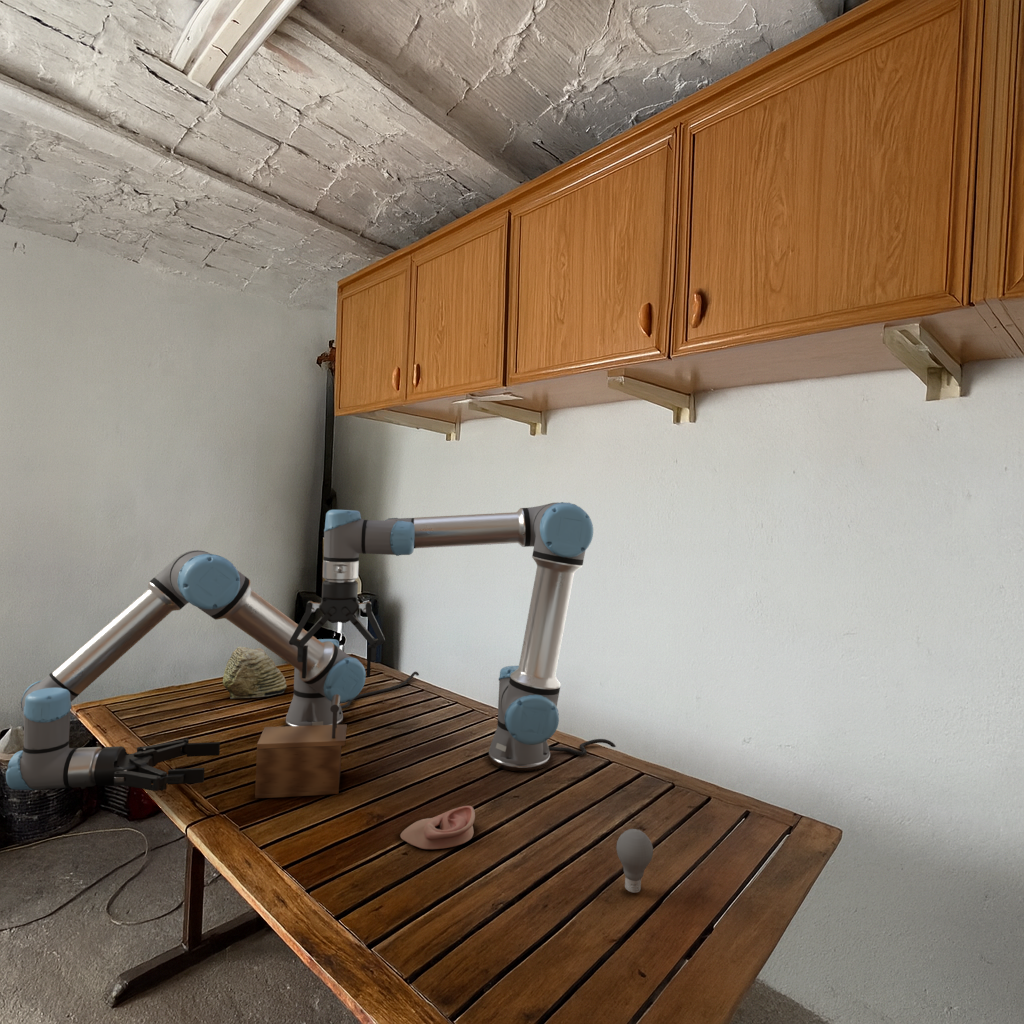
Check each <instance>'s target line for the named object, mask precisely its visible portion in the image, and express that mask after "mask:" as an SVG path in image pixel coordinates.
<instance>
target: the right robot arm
mask: <svg viewBox="0 0 1024 1024" xmlns="http://www.w3.org/2000/svg"><path fill="white" fill-rule="evenodd" d="M590 517H591V516H590V515H589V514H588V513H587V512H586V511H585V510H584V509H583V508H582V507H580V506H579V505H577V504H574V503H571V502H563V501H561V502H550V503H546V504H543V505H537V506H531V507H520V508H519V509H518V510H517V511H515V512H497V513H496V512H495V513H476V514H459V515H458V514H456V515H439V516H438V515H437V516H420V517H402V518H399V517H392V518H387V519H385V520H379V519H376V520H375V519H374V520H371V519H365V518H363V519H362V516H361V512H360V510H352V509H329V510H328V511H327V512H326V513H325V522H324V529H323V559H322V561H323V562H322V578H323V579H324V580H323V581H322V585H321V601H320V602H316V601H315V602H314V601H312V600H308V601H307V602H306V606H305V612H304V614H303V616H302V618H301V619H300V621H299V623H298V626H297V628H296V630H295V632H294V633H293V635H292V637H291V639H290V641H289V644H290V645H294V646H296V647H297V648H298V654H297V661H298V662H303V663H302V678H306V676H307V655H308V646H304V645H305V644H306V643H307V642H308V641H309V640H310V639H311V637H312V636H314V635H315V634H316V633H318V632H319V630H320V629H321V628H322V627H323V626H324V625H325V624H326V623H327V622H329V623H330V624H336V623H340V624H347V623H348V622H350V623H351V624H352V625H353V626H354V627H355V629H357V630H358V632H359V633H360V634H361V635H362V636H363V638H364V639H365V641H367V643H368V645H367V653H366V654H367V655H366V656H367V657H366V678H371V665H372V663H371V662H376V661H377V648H378V646H380V645H385V644H386V639H385V635H384V634H383V632H382V629H381V628H380V625H379V623H378V621H377V619H376V617H375V615H374V613H373V610H372V609H373V608H372V601H370V600H367V601H366V602H359V601H358V592H359V591H358V590H359V583H358V578H359V569H360V567H359V566H360V565H359V564H360V561H359V560H360V558H359V556H360V554H362V555H366V554H368V555H369V554H370V555H386V556H387V555H389V556H396V557H399V556H411V555H412V554H413V553H414V549H429V548H430V549H431V548H449V547H451V548H452V547H469V546H488V545H489V546H490V545H507V544H510V545H511V544H518V545H519V546H521V547H522V548H525V547H526V548H527V547H528V548H529V547H532V548H533V549H532V555H531V558H532V560H533V561H534V562H535V564H536V570H535V576H534V582H533V587H532V592H531V597H530V603H529V608H528V613H527V619H526V623H525V625H526V626H525V630H524V636H523V642H522V645H521V652H520V658H519V663H518V665H508V666H503V667H502V668H501V669H500V671H499V676H498V700H497V701H498V702H497V704H498V705H497V722H496V723H497V724H496V730H495V732H494V735H493V738H492V740H491V742H490V746H489V749H488V761H489V762H490V763H491V764H492V765H493V766H495V767H497V768H500V769H503V770H506V771H511V772H535V771H537V770H542V769H544V768H545V767H547V766H549V764H550V763H551V752H564V753H570V754H572V755H575V756H579V757H582V756H586V755H587V753H588V752H587V749H586V748H585V747H587V746H590V745H593V744H607V745H609V746H610V747H612V748H616V747H617V746H616V744H615V743H614V742H613V741H611V740H608V739H607V738H606V739H605V738H595V739H591V740H586V741H584V742H582V743H580V744H579V749H580V751H578V750H575V749H573V748H569V747H561V746H549V744H548V740H549V739H551V738H552V737H553V736H554V734H555V733H556V731H557V730H558V727H559V722H560V712H559V709H558V702H559V697H560V691H561V685H562V684H561V682H560V680H558V678H557V670H558V664H559V659H560V653H561V649H562V643H563V637H564V631H565V626H566V621H567V615H568V609H569V604H570V598H571V593H572V588H573V582H574V577H575V573H576V572H577V571H579V570H580V569H581V568H583V567H584V560H585V556H586V555H585V554H586V551H587V549H588V548H589V547H590V545H591V543H592V541H593V538H594V524H593V521H592V519H591V518H590ZM318 609H319V610H320V612H321V613H322V614H323V615H322V616H320V618H319V619H318V620H317V621H316V622H315V623H314V624H313V626H312V627H311V628H310V629H309V630H308V631H307V633H306V634H305V636H304V637H303V638H302V639H301V640H299V639H297V638H298V636H299V635H300V633H301V631H302V629H304V628H305V626H306V624H307V622H308V620H309V619H310V617H311V614H312V613H315V612H316V611H317V610H318ZM359 609H360V610H361V611H362V612H363V613H365V614H366V616H367V619H368V621H369V623H370V625H371V627H372V630H373V632H374V634H375V636H376V637H377V638H375V637H374V636H373V635H372V634H371V632H370V631H369V629H367V628H366V626H365V625H364V624H363V622H361V621H360V619H359V618H358V617H357V615H356V613H357V612H358V611H359Z"/></svg>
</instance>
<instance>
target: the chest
mask: <svg viewBox="0 0 1024 1024" xmlns="http://www.w3.org/2000/svg"><path fill="white" fill-rule="evenodd" d="M255 765H256V766H255V789H254V798H255V800H256V799H257V800H258V799H273V798H275V799H276V798H289V797H310V796H325V795H326V796H327V795H339V791H340V781H341V765H342V746H319V747H294V748H269V749H257V748H256V763H255Z"/></svg>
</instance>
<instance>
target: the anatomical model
mask: <svg viewBox="0 0 1024 1024" xmlns="http://www.w3.org/2000/svg"><path fill="white" fill-rule="evenodd" d="M475 820H476V812H475V809H474V807H473V806H471V805H463V806H459V807H455V808H452V809H450V810H447V811H445V812H443V813H440V814H439V815H436V816H434V817H427V818H422V819H419V820H417V821H415V822H413V823H412V824H410V825H409V826H407V827H406V828H405V829H404V830H402V832H401V833H400V835H399V836H400V838H401V840H403V841H404V842H406V843H408V844H409V845H411V846H413V847H416V848H419V849H422V850H440V849H447V848H454V847H457V846H460V845H463V844H465V843H467V842H469V841H471V839H472V838H473V836H474V833H475V832H474V826H473V824H474V823H475Z"/></svg>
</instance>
